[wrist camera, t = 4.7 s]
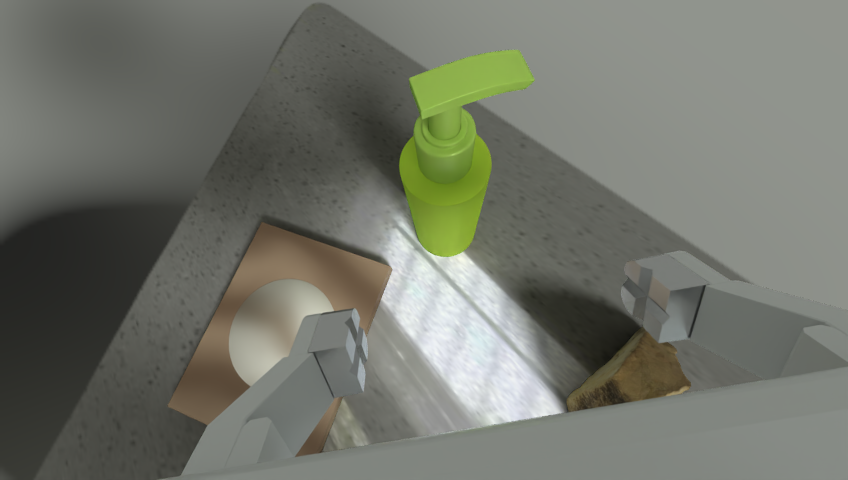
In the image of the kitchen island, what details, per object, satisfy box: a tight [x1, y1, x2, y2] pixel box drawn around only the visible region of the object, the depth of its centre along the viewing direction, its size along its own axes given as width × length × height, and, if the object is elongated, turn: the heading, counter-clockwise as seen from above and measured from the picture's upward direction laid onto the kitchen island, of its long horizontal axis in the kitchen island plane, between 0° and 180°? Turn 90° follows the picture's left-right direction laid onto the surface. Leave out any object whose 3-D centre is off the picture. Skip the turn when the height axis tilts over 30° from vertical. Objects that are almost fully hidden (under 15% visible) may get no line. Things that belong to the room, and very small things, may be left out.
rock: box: [567, 327, 691, 412], centre depth 26 cm, size 11×9×10 cm
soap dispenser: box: [399, 50, 535, 257], centre depth 24 cm, size 6×7×20 cm
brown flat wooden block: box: [167, 222, 392, 457], centre depth 31 cm, size 18×14×2 cm
